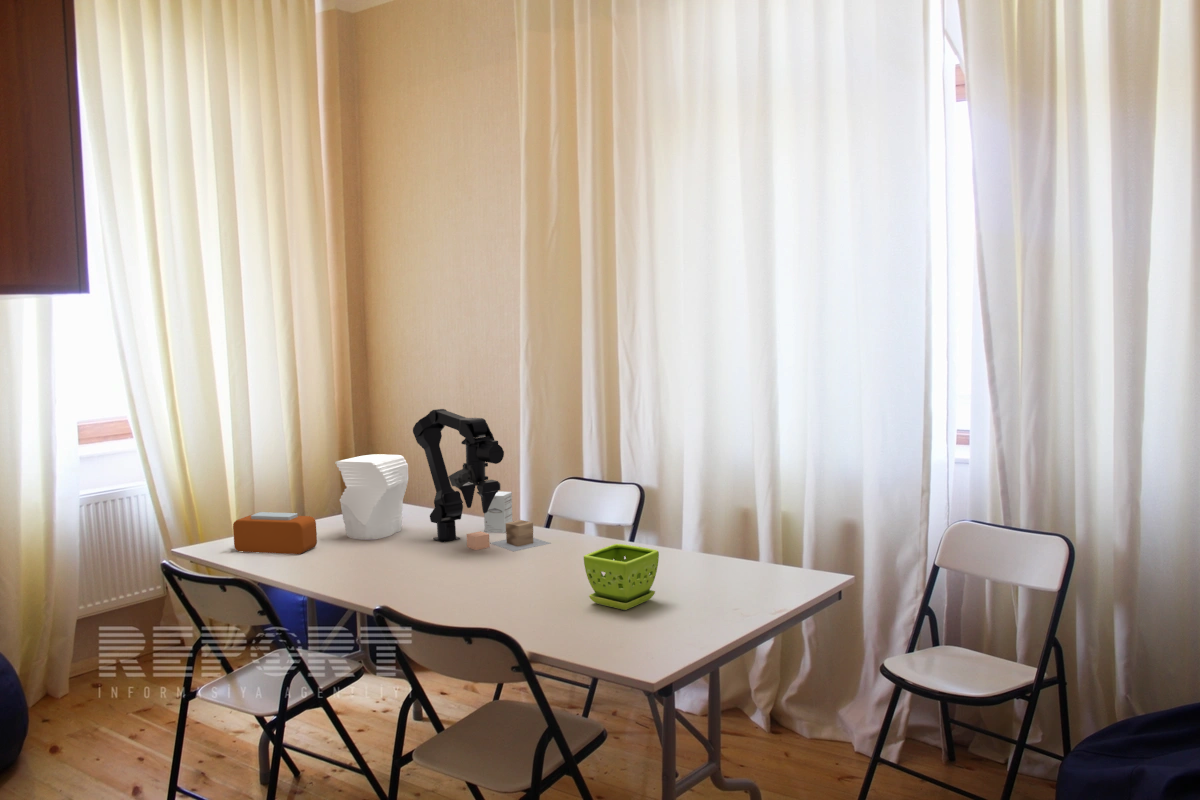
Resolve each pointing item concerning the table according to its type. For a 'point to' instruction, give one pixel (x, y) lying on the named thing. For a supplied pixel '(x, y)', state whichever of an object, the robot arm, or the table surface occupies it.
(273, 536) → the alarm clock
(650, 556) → the flower pot
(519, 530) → the tower top
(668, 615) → the table surface
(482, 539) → the terracotta block
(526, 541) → the block
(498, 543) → the felt mat
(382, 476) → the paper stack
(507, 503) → the supplement box
